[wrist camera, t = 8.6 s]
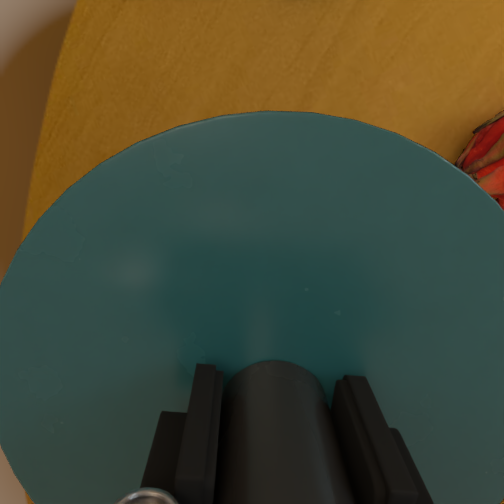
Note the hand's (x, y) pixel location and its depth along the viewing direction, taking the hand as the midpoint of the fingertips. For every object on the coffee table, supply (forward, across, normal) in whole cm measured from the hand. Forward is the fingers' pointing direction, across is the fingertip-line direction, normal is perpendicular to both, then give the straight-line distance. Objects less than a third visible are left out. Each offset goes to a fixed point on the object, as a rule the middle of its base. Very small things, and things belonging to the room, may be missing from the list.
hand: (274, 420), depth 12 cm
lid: (+1, 0, 0) cm, 1 cm away
